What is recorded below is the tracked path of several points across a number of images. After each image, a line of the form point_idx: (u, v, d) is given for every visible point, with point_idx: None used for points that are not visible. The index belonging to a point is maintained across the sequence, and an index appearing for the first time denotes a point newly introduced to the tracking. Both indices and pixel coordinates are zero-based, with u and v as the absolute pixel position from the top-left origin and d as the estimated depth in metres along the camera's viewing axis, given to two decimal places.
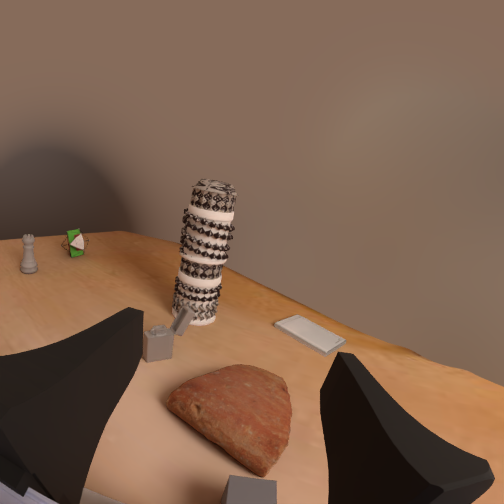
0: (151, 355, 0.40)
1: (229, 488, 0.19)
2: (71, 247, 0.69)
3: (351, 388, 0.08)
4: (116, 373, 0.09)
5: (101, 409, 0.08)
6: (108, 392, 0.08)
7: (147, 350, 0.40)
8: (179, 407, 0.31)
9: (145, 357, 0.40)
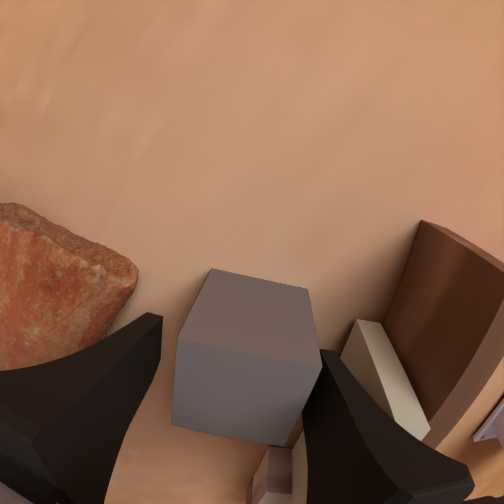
0: None
1: (214, 433, 0.09)
2: None
3: (329, 386, 0.08)
4: (137, 380, 0.09)
5: (123, 417, 0.08)
6: (129, 400, 0.08)
7: None
8: None
9: None
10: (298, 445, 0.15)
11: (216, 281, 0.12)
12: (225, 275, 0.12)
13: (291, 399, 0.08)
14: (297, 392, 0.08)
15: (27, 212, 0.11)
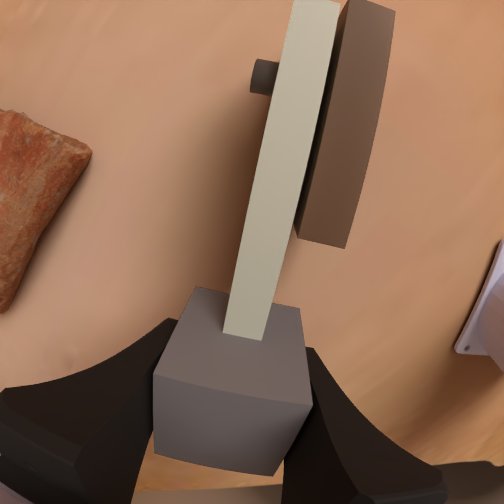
0: None
1: (199, 463, 0.08)
2: None
3: None
4: None
5: (147, 425, 0.08)
6: None
7: None
8: (0, 302, 0.15)
9: None
10: None
11: (199, 303, 0.11)
12: (209, 294, 0.11)
13: (279, 435, 0.07)
14: (285, 429, 0.07)
15: (13, 111, 0.12)
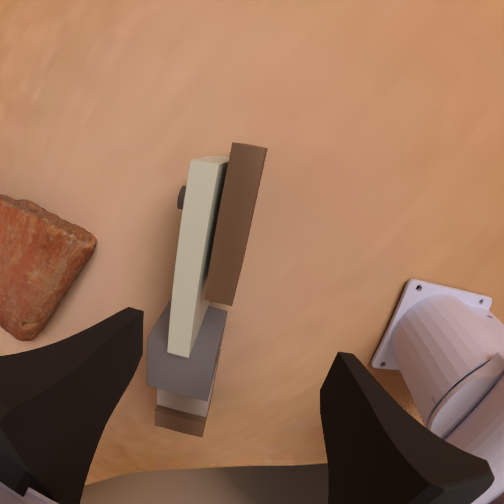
0: None
1: (169, 390, 0.18)
2: None
3: (351, 388, 0.08)
4: (116, 373, 0.09)
5: (101, 409, 0.08)
6: (108, 392, 0.08)
7: None
8: (32, 334, 0.22)
9: None
10: None
11: None
12: None
13: (204, 372, 0.17)
14: (206, 368, 0.17)
15: (34, 205, 0.19)
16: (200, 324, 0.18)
